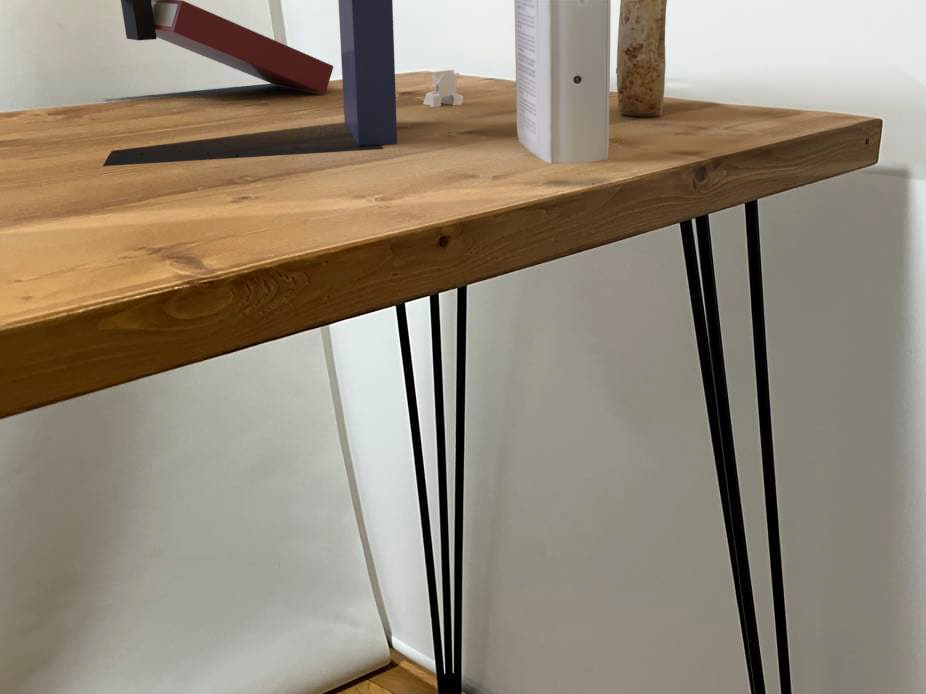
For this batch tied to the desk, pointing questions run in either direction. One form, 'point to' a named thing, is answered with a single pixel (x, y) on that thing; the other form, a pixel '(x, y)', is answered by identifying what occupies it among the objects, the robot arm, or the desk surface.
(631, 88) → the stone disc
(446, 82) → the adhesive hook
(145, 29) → the robot arm
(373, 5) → the navy book
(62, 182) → the desk surface
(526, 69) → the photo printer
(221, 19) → the burgundy book
